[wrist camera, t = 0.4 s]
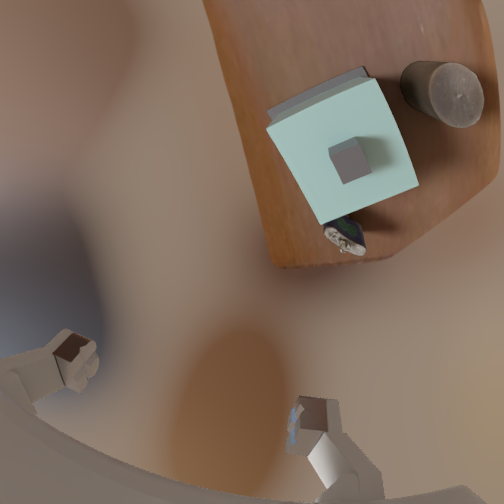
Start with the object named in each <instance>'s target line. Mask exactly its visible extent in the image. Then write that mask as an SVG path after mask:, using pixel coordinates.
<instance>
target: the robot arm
mask: <svg viewBox="0 0 504 504" xmlns="http://www.w3.org/2000/svg"><path fill="white" fill-rule="evenodd" d="M95 350H96V343H95V342H94V341H92V340H90V339H88V338H85V337H83V336H81V335H79V334H77V333H74V332H72V331H70V330H68V329H64V330H62V331H61V332H60V333H59V334H58V335H57V336H56V337H55V338H54V339H53V340H52V341H50V343H48V344H47V345H46V346H45V347H44V348H43V349H42V348H38V349H35V350H31V351H28V352H24V353H20V354H17V355H13V356H10V357H6V358H2V359H0V504H486V502H485V501H484V500H483V499H482V498H481V497H480V496H478V495H477V494H476V493H474V492H473V491H472V490H471V489H470V488H468V487H467V486H464V485H460V486H454V487H450V488H446V489H442V490H438V491H434V492H429V493H424V494H419V495H413V496H407V497H401V498H394V499H385V496H384V488H383V482H382V475H381V472H380V470H378V468H377V467H376V466H375V465H374V464H373V463H372V462H371V461H370V460H369V458H368V457H367V456H366V455H365V454H364V453H363V452H362V451H361V450H360V449H359V447H358V446H357V445H356V444H355V443H354V442H353V441H352V440H351V438H350V437H349V436H348V435H347V434H346V433H342V425H341V416H340V409H339V402H338V400H334V399H324V398H316V397H307V396H300V395H299V396H298V397H297V399H296V401H295V407H294V408H292V410H291V413H290V416H289V420H288V426H287V431H288V432H289V436H288V438H287V443H286V454H294V455H302V456H308V459H309V461H310V462H311V464H312V465H313V467H314V469H315V471H316V472H317V474H318V475H319V477H320V478H321V480H322V482H323V483H324V485H325V487H326V488H327V490H326V491H325V492H324V493H322V494H321V495H320V496H319V497H318V498H317V499H316V500H315V503H314V502H293V501H281V500H271V499H261V498H254V497H248V496H242V495H236V494H230V493H225V492H220V491H215V490H210V489H206V488H202V487H198V486H194V485H191V484H187V483H183V482H180V481H176V480H173V479H170V478H166V477H163V476H160V475H157V474H154V473H151V472H149V471H146V470H143V469H140V468H138V467H135V466H133V465H129V464H127V463H125V462H123V461H120V460H118V459H115V458H113V457H111V456H108V455H106V454H104V453H102V452H100V451H98V450H96V449H94V448H92V447H89V446H87V445H86V444H84V443H81V442H80V441H78V440H76V439H74V438H72V437H70V436H68V435H67V434H65V433H63V432H61V431H59V430H58V429H56V428H55V427H53V426H51V425H49V424H48V423H46V422H45V421H43V420H41V419H40V418H38V417H37V416H36V415H37V411H36V409H35V407H34V406H33V404H32V403H33V402H35V401H37V400H39V399H41V398H43V397H46V396H48V395H49V394H52V393H54V392H56V391H58V390H60V389H62V388H64V387H65V386H66V387H68V388H70V389H72V390H74V391H76V392H78V393H81V392H82V391H83V390H84V388H85V387H86V385H87V384H88V378H90V377H93V376H94V375H95V373H96V372H97V369H98V366H99V358H98V356H97V354H96V353H95Z"/></svg>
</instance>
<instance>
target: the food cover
mask: <svg viewBox="0 0 504 504" xmlns="http://www.w3.org/2000/svg"><path fill="white" fill-rule="evenodd" d="M266 130H267V132H268V133H269V135H270V137H271V138H272V140H273V141H274V143H275V145H276V146H277V148H278V150H279V151H280V153H281V155H282V157H283V158H284V160H285V162H286V163H287V165H288V167H289V169H290V170H291V172H292V174H293V176H294V177H295V179H296V181H297V183H298V184H299V186H300V188H301V190H302V192H303V193H304V195H305V197H306V199H307V201H308V202H309V204H310V206H311V208H312V210H313V212H314V214H315V215H316V217H317V219H318V221H319V223H320V225H321V224H324V223H326V222H329V221H331V220H334V219H336V218H339V217H341V216H344V215H346V214H349V213H351V212H354V211H356V210H359V209H361V208H364V207H366V206H369V205H371V204H374V203H376V202H379V201H381V200H384V199H386V198H389V197H391V196H394V195H396V194H399V193H401V192H404V191H406V190H409V189H411V188H414V187H416V186H419V183H418V180H417V177H416V174H415V171H414V168H413V165H412V163H411V160H410V157H409V154H408V152H407V149H406V146H405V144H404V141H403V139H402V136H401V134H400V131H399V129H398V126H397V124H396V122H395V119H394V117H393V115H392V112H391V110H390V108H389V106H388V104H387V102H386V99H385V97H384V95H383V93H382V91H381V89H380V87H379V85H378V83H377V81H376V79H375V78H367V77H357V78H355V79H352V80H350V81H348V82H345V83H343V84H341V85H338V86H336V87H334V88H332V89H329V90H327V91H325V92H323V93H321V94H318V95H316V96H314V97H312V98H310V99H308V100H306V101H304V102H302V103H300V104H298V105H296V106H294V107H292V108H290V109H288V110H286V111H284V112H282V113H280V114H278V115H277V116H276V117H275V119H274V120H273V121H272V122H271V123H270V125H269V126H268V127H267V128H266Z"/></svg>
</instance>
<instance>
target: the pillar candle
mask: <svg viewBox="0 0 504 504" xmlns="http://www.w3.org/2000/svg"><path fill="white" fill-rule="evenodd" d="M400 85H401V91H402V93H403V95H404V97H405V99H406V101H407V102H408V103H409V104H410V105H411V106H412V107H413V108H415V109H416V110H418V111H421V112H423V113H425V114H427V115H429V116H431V117H433V118H436V119H438V120H440V121H442V122H444V123H446V124H448V125H450V126H452V127H457V128H465V127H468V126H471V125H473V124H475V123H476V121H478V120H479V119H480V116H481V113H482V110H483V108H484V106H483V105H484V96H483V90H482V87H481V84H480V82H479V80H478V77H477V76H476V74H475V73H474V72H471V70H469V69H468V68H467V67H465V66H463V65H461V64H458V63H452V62H429V61H417V62H414V63H412V64H410V65H409V66H407V67H406V68H405V70H404V71H403V73H402V76H401V83H400Z"/></svg>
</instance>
